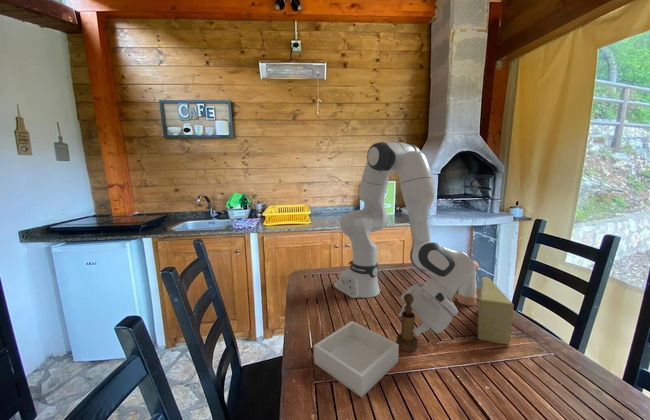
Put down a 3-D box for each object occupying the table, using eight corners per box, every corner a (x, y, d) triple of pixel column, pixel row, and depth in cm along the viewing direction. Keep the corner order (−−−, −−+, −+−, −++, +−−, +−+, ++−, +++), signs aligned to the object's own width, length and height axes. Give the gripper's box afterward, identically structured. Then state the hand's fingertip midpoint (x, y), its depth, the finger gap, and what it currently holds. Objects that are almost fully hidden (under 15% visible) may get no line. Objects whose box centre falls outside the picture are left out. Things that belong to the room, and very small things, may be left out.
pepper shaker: (471, 297, 123) (475, 256, 120) (479, 306, 116) (482, 262, 113) (454, 297, 124) (457, 255, 121) (461, 305, 117) (464, 261, 113)
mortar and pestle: (418, 353, 88) (420, 300, 85) (397, 350, 90) (399, 298, 86) (416, 340, 95) (418, 290, 92) (396, 337, 96) (397, 289, 93)
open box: (314, 363, 84) (313, 345, 83) (352, 336, 97) (352, 320, 96) (361, 397, 72) (361, 377, 71) (398, 362, 84) (398, 344, 83)
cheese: (468, 308, 115) (471, 273, 112) (496, 312, 111) (499, 276, 109) (476, 340, 94) (480, 298, 92) (510, 346, 91) (515, 303, 88)
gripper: (413, 275, 100) (387, 304, 100) (449, 303, 81) (417, 338, 80) (424, 285, 102) (398, 313, 102) (462, 315, 82) (431, 350, 82)
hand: (407, 325), depth 91 cm, fingers open, 8 cm apart
